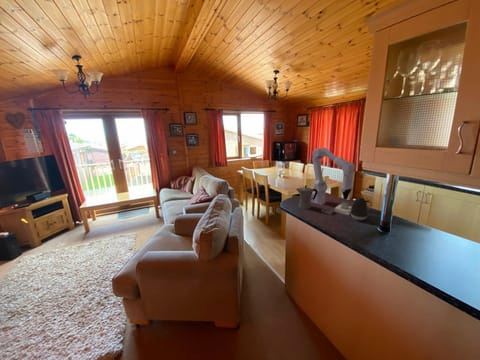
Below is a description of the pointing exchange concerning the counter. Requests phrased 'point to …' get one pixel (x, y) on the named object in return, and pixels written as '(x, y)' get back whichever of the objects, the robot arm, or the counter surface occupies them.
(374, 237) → the counter surface
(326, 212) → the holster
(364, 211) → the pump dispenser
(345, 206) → the plug
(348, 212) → the port
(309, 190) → the coffeepot
